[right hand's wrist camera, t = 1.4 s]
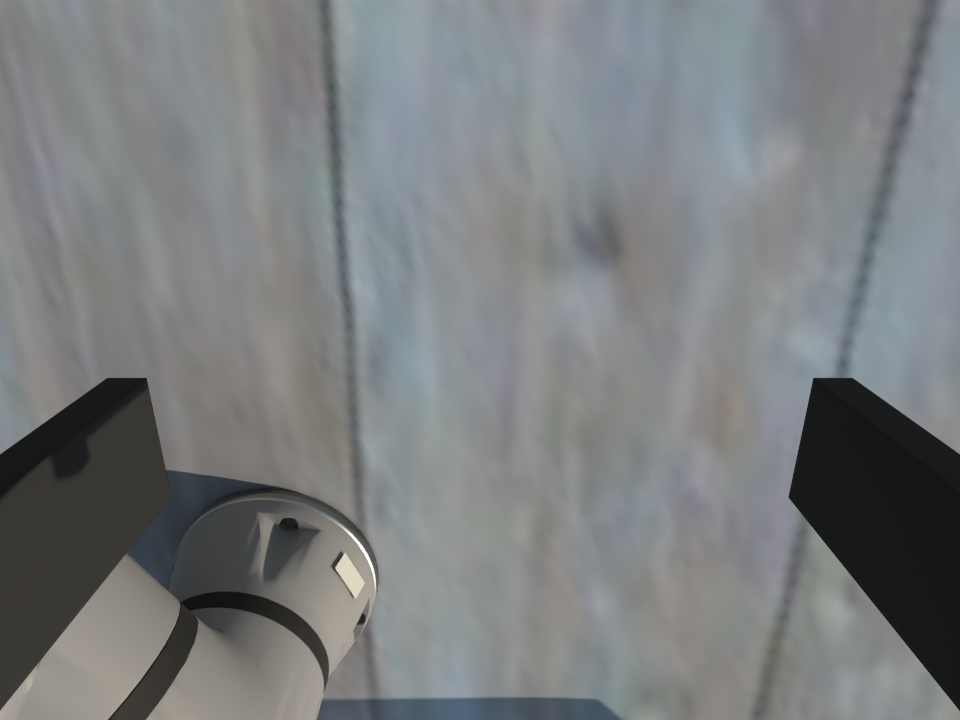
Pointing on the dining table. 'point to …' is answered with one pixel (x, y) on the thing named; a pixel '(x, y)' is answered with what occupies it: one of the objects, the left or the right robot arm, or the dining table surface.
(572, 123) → the dining table surface
